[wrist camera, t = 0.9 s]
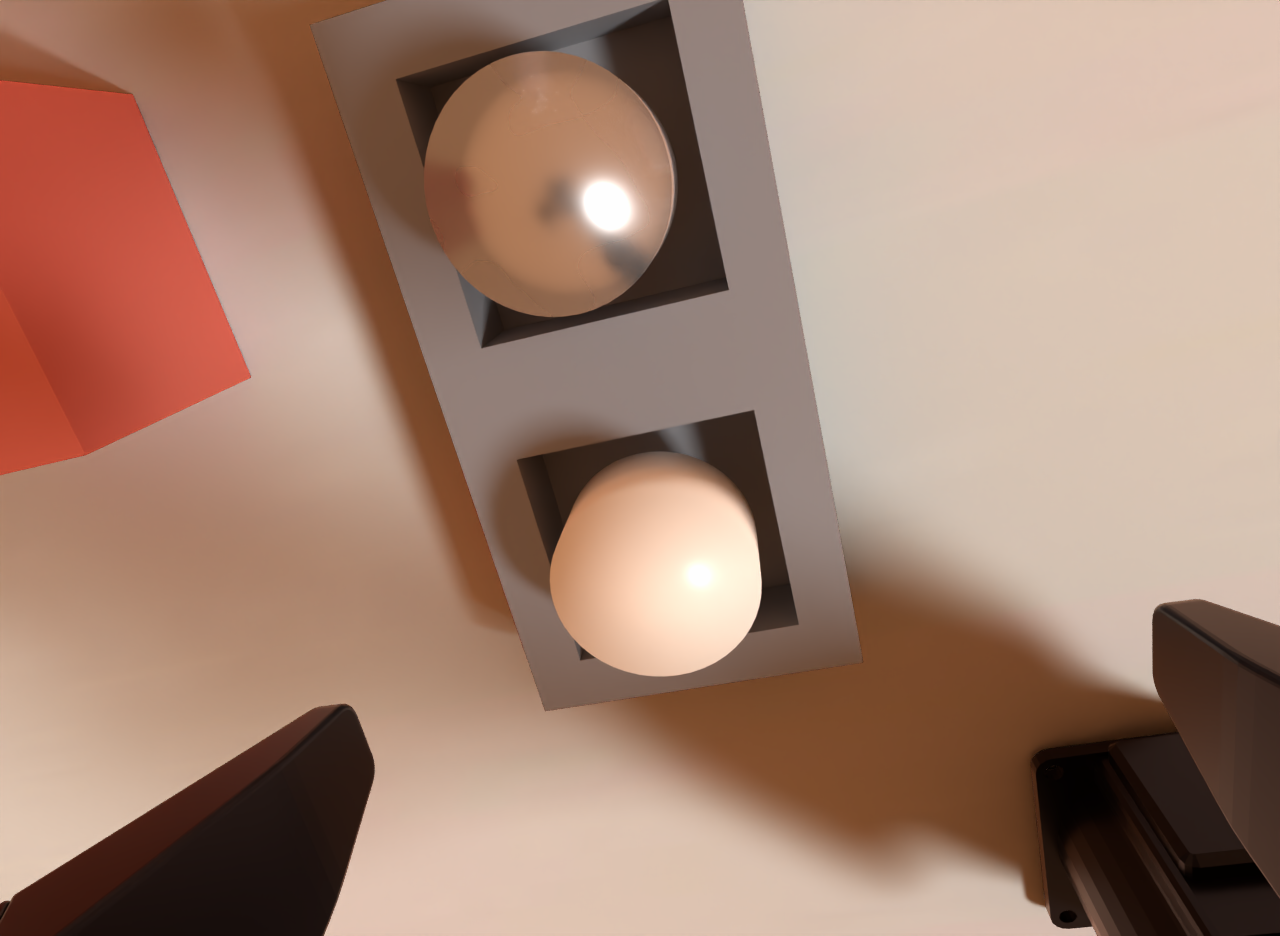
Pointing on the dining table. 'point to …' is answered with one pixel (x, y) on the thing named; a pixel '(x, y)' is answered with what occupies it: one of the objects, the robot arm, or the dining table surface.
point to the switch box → (613, 320)
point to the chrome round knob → (549, 183)
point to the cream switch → (658, 565)
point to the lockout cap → (95, 281)
